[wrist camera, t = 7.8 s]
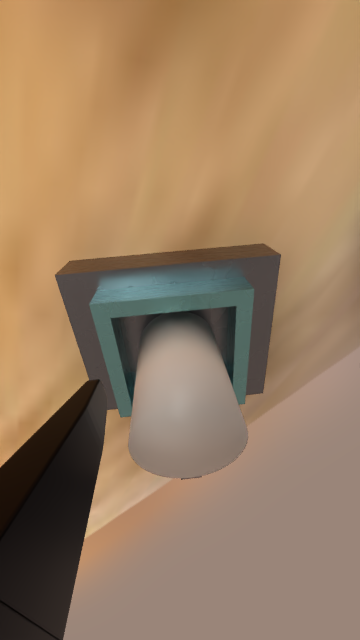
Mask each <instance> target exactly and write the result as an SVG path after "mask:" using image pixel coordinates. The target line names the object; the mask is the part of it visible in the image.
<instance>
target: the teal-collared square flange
mask: <svg viewBox="0 0 360 640" xmlns="http://www.w3.org/2000/svg"><path fill="white" fill-rule="evenodd" d="M280 257H281V254H279V253H278V252H276V251H274V250H273V249H271V248H270V247H268V246H266V245H265V244H254V245H243V246H231V247H220V248H209V249H198V250H187V251H176V252H164V253H153V254H142V255H131V256H120V257H109V258H98V259H86V260H75V261H69V262H68V263H67V264H66V265H65V266H64V267H63V268H62V269H61V270H60V271H59V272H58V273H57V274H55V277H56V280H57V283H58V287H59V290H60V293H61V296H62V299H63V302H64V305H65V308H66V311H67V314H68V317H69V320H70V323H71V326H72V329H73V332H74V335H75V338H76V341H77V344H78V347H79V350H80V353H81V356H82V359H83V362H84V365H85V368H86V371H87V374H88V377H89V380H95V379H100V380H101V381H102V383H103V386H104V389H105V392H106V395H107V400H108V404H107V410H110V409H118V410H119V414H120V417H128V416H131V415H132V407H133V398H134V389H135V380H136V371H137V363H138V354H139V345H140V338H141V335H142V332H143V330H144V328H145V327H146V326H147V325H148V324H149V323H150V322H151V321H152V320H153V319H155V318H156V317H158V316H160V315H162V314H165V313H168V312H179V311H184V312H189V313H193V314H195V315H198V316H200V317H201V318H203V319H204V320H205V321H206V322H207V323H208V324H209V325H210V327H211V328H212V331H213V333H214V336H215V339H216V342H217V344H218V347H219V350H220V353H221V356H222V359H223V361H224V364H225V367H226V370H227V373H228V376H229V378H230V381H231V384H232V387H233V390H234V393H235V395H236V398H237V401H238V404H245V396H246V395H250V394H260V393H263V389H264V381H265V373H266V366H267V358H268V350H269V342H270V335H271V327H272V319H273V312H274V304H275V296H276V288H277V281H278V273H279V265H280Z"/></svg>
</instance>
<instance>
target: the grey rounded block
mask: <svg viewBox="0 0 360 640" xmlns="http://www.w3.org/2000/svg"><path fill="white" fill-rule="evenodd" d="M247 440H248V431H247V427H246V424H245V421H244V418H243V415H242V412H241V410H240V407H239V404H238V401H237V398H236V395H235V393H234V390H233V387H232V384H231V381H230V378H229V376H228V373H227V370H226V367H225V364H224V361H223V359H222V356H221V353H220V350H219V347H218V344H217V342H216V339H215V336H214V333H213V331H212V328H211V327H210V325H209V324H208V323H207V322H206V321H205V320H204V319H203V318H201V317H200V316H198V315H195V314H193V313H189V312H184V311H179V312H168V313H165V314H162V315H160V316H158V317H156V318H155V319H153V320H152V321H151V322H150V323H149V324H148V325H147V326H146V327H145V328H144V330H143V332H142V335H141V338H140V345H139V354H138V363H137V371H136V380H135V389H134V398H133V407H132V415H131V424H130V433H129V443H128V447H129V452H130V454H131V457H132V458H133V460H134V461H135V462H136V463H137V464H138V465H139V466H140V467H142V468H143V469H145V470H146V471H149V472H151V473H153V474H156V475H159V476H163V477H169V478H181V480H182V479H190V478H199V477H202V476H203V475H207V474H210V473H213V472H216V471H218V470H220V469H222V468H224V467H226V466H228V465H229V464H231V463H232V462H233V461H235V460H236V458H238V457H239V455H240V454H241V453H242V452H243V450H244V448H245V446H246V444H247Z"/></svg>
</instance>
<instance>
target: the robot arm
mask: <svg viewBox="0 0 360 640" xmlns="http://www.w3.org/2000/svg"><path fill="white" fill-rule="evenodd" d="M107 404H108V400H107V395H106V392H105V389H104V386H103V383H102V381H101V380H100V379H95V380H89V381H87V382H86V383H85V384H84V385H83V386H82V387H81V388H80V389H79V390H78V391H77V392H76V393H75V394H74V395H73V396H72V397H71V398H70V399H69V400H68V401H67V402H66V403H65V404H64V405H63V406H62V407H61V408H60V409H59V410H58V411H57V412H56V413H55V414H54V415H53V416H52V417H51V418H50V419H49V420H48V421H47V422H46V423H45V424H44V425H43V426H42V427H41V428H40V429H38V430H37V431H36V432H35V433H34V434H33V435H32V436H31V437H30V438H29V439H28V440H27V441H26V442H25V443H24V444H23V445H22V446H21V447H20V448H19V449H18V450H17V451H16V452H15V453H14V454H13V455H12V456H11V457H10V458H9V459H8V460H7V461H6V462H5V463H4V464H3V465H2V466H1V467H0V640H63V637H64V632H65V627H66V622H67V618H68V613H69V608H70V603H71V598H72V594H73V589H74V584H75V579H76V574H77V570H78V565H79V561H80V556H81V551H82V546H83V542H84V537H85V532H86V527H87V523H88V518H89V513H90V508H91V503H92V499H93V494H94V489H95V484H96V480H97V475H98V470H99V465H100V461H101V456H102V451H103V444H104V435H105V425H106V414H107Z"/></svg>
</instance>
